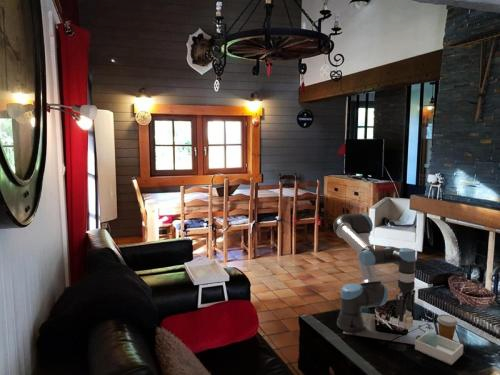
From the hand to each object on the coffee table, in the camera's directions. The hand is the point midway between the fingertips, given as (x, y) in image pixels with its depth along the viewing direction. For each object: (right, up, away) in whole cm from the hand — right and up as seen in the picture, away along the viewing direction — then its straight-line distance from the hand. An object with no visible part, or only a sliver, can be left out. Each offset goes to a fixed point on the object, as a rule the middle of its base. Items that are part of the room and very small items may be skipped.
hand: (404, 325), depth 192 cm
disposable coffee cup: (+26, -12, +12) cm, 32 cm away
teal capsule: (+15, -13, +4) cm, 20 cm away
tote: (+17, -14, +1) cm, 22 cm away
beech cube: (0, 0, 0) cm, 0 cm away
